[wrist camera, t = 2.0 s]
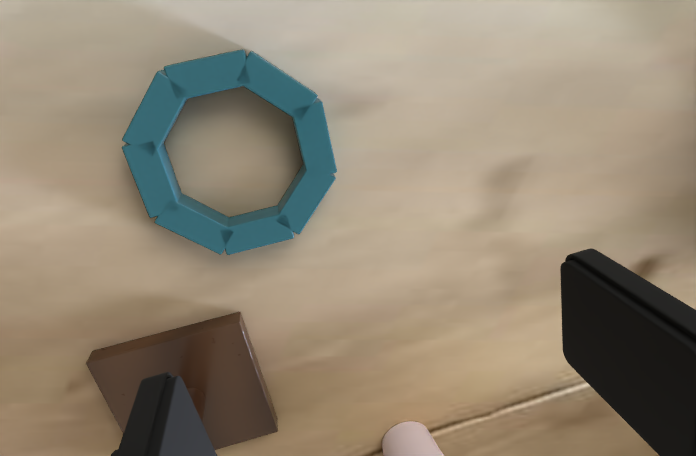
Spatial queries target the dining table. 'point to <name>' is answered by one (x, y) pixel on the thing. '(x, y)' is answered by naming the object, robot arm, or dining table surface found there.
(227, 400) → the brown peg stand
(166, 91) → the ring
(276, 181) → the dining table surface
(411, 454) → the smoothie
